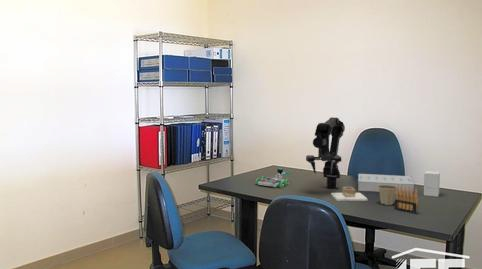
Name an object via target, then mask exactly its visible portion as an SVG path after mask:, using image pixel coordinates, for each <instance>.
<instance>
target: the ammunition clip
mask: <svg viewBox="0 0 482 269" xmlns="http://www.w3.org/2000/svg"><path fill="white" fill-rule="evenodd" d="M418 198H419V197H418V188H417V187H416V188H414V190H413V187H412V189H411V194H410V188H409V187H408V190H407V193H406V187H404V192H403V189H402V186H401V187H400V193H399V186H398V185H397V188H396V193H395V198H394V206H393V210H395V211H399V212H405V213H409V214H414V215H418V214H419V203H418Z"/></svg>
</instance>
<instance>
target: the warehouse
mask: <svg viewBox="0 0 482 269" xmlns="http://www.w3.org/2000/svg"><path fill="white" fill-rule="evenodd" d="M357 176H358V178H357V191H362V192H378V193H379V188H378V186H379V185H392V186H396V187H397V185H398V186H399V194H400V187H401V186H402V189H403V192H404V187H406V194H407V190H408V187H409V188H410V195H411V189H412V187H413V190H414V191H415V182H414V180H413V177H412V175H395V174H394V175H393V174H392V175H391V174H375V173H374V174H372V173H358V175H357ZM395 194H396V192H395Z"/></svg>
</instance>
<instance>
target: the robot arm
mask: <svg viewBox="0 0 482 269" xmlns="http://www.w3.org/2000/svg"><path fill="white" fill-rule="evenodd" d="M345 130H346V126H345V124H344V122H343V121H341V120H340V119H339V117H332V116H331V117H329V119H327V120H326V121H325V122H318V124H317V125H316V128H315V131H314V139H313V140H312V146H314V148H317V149H318V151H317V152H318V155H317V156H314V155H313V154H312V155H311V154H309V155H306V156H305V160H306V162H308V163H309V164H310V166H311V167H312V170H313V174H314V175H316V174H317V173H316V161H321V162H324V167H323V168H322V174H323V177H324V178H326V184H325V185H324V187H325V188H326V189H329V190H330V189H332V190H333V189H339V187H338V186H337V184H338V179H340V178H341V172H340V169H339V165H338V164H339V163H340V162H342V156H340V155H339V153H338V152H339V145H340V141H341V140H340V139H341V138H342V137H343V136H344V132H345ZM330 137H331V142H330Z"/></svg>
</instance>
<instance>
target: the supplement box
mask: <svg viewBox="0 0 482 269" xmlns="http://www.w3.org/2000/svg"><path fill="white" fill-rule="evenodd" d="M423 174H424V176H423V177H424V178H423V196H427V197H439V196H440V182H441V181H440V180H441V179H440V178H441V171H432V170H431V171H430V170H425V172H424V173H423Z"/></svg>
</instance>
